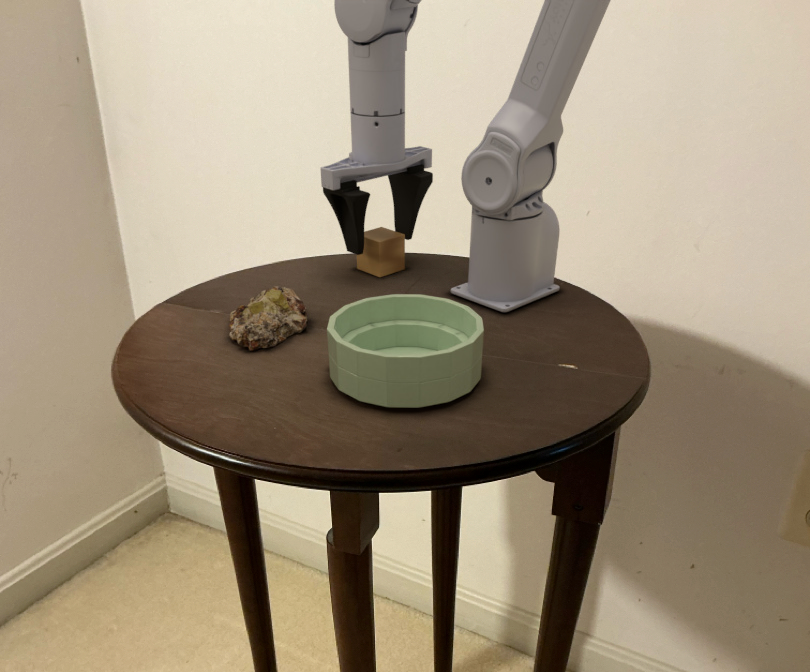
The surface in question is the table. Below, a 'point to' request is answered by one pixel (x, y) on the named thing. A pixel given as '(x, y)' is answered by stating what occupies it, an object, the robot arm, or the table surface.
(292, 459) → the table surface
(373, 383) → the bowl
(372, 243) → the block
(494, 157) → the robot arm
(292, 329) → the mineral rock
